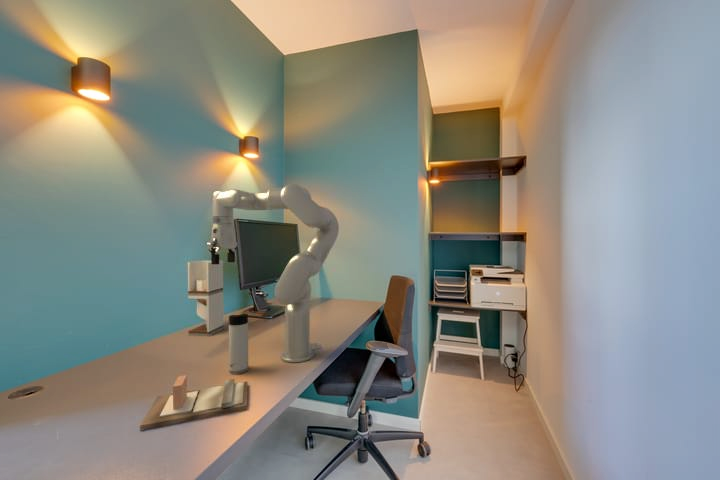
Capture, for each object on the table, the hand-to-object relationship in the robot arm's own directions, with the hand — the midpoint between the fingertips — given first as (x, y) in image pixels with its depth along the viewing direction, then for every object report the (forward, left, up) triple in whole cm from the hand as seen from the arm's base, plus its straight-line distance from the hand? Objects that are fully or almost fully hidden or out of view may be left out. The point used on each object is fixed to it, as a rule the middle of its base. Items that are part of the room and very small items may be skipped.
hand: (223, 263), depth 119 cm
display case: (+10, -30, -36) cm, 48 cm away
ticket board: (+2, +40, -36) cm, 54 cm away
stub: (+7, +40, -35) cm, 54 cm away
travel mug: (-7, +21, -36) cm, 43 cm away
